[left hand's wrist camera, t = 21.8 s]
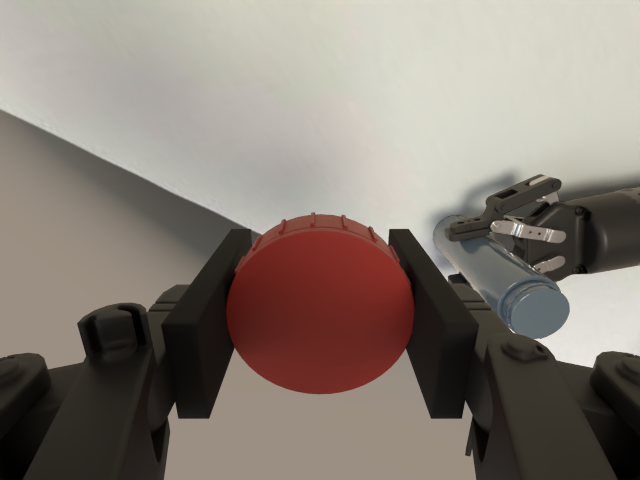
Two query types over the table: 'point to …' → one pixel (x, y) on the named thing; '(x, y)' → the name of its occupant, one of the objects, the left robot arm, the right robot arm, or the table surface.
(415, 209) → the table surface
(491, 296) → the jar
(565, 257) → the right robot arm
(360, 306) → the lid
